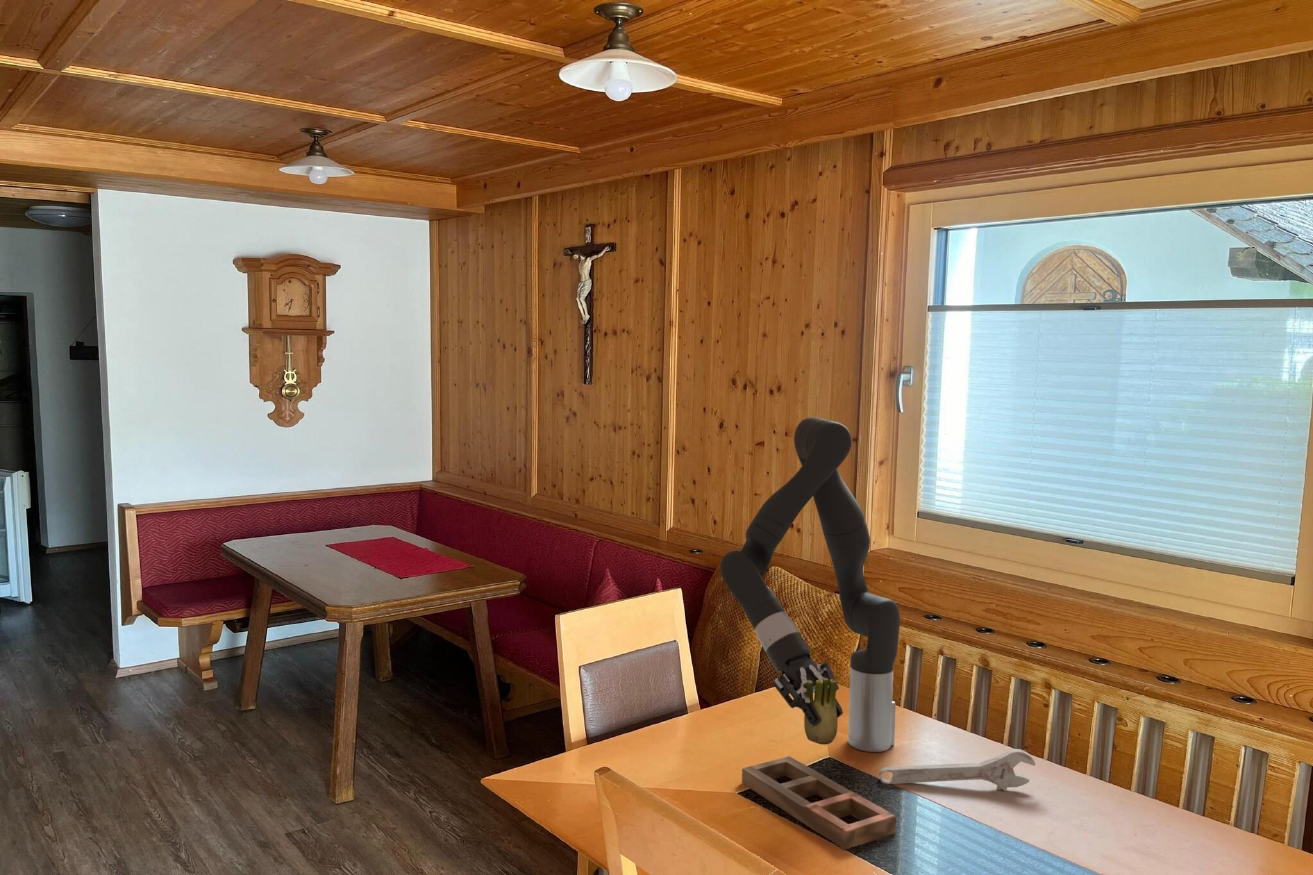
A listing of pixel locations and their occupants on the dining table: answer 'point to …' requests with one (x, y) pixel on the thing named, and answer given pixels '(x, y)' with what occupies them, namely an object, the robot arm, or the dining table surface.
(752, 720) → the dining table surface
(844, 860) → the dining table surface
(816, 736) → the fennel bulb
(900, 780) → the wrench
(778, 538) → the robot arm
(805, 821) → the brown flat frame piece
